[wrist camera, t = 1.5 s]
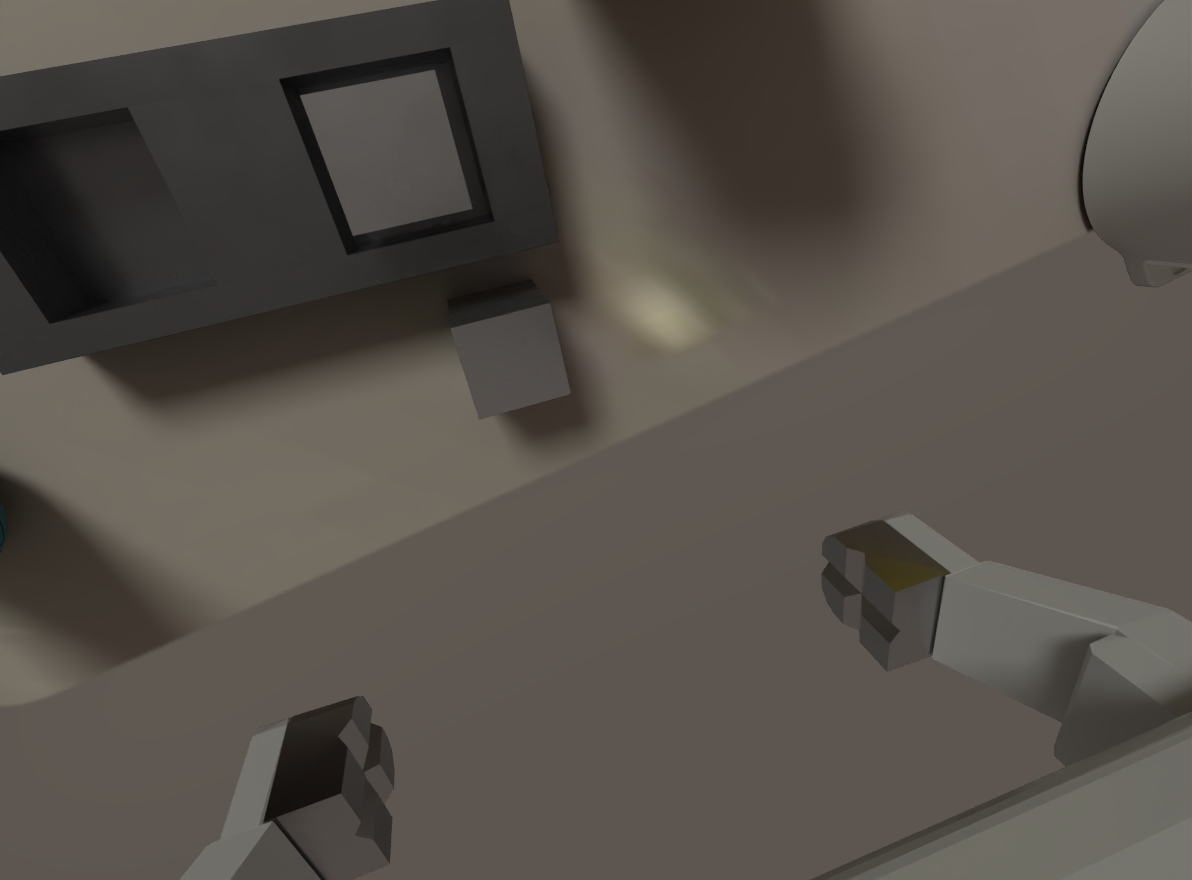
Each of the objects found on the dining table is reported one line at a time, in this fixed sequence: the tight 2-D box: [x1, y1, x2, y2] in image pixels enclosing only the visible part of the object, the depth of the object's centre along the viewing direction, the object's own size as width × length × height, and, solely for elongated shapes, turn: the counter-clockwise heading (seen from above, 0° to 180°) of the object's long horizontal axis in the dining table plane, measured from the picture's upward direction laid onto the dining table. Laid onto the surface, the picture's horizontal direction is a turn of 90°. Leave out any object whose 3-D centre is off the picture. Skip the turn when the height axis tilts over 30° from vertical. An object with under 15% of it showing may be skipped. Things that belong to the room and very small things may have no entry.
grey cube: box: [447, 280, 571, 420], centre depth 25 cm, size 4×4×5 cm
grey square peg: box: [300, 70, 472, 236], centre depth 20 cm, size 4×4×5 cm
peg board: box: [0, 0, 559, 375], centre depth 21 cm, size 20×8×4 cm, turn 101°
